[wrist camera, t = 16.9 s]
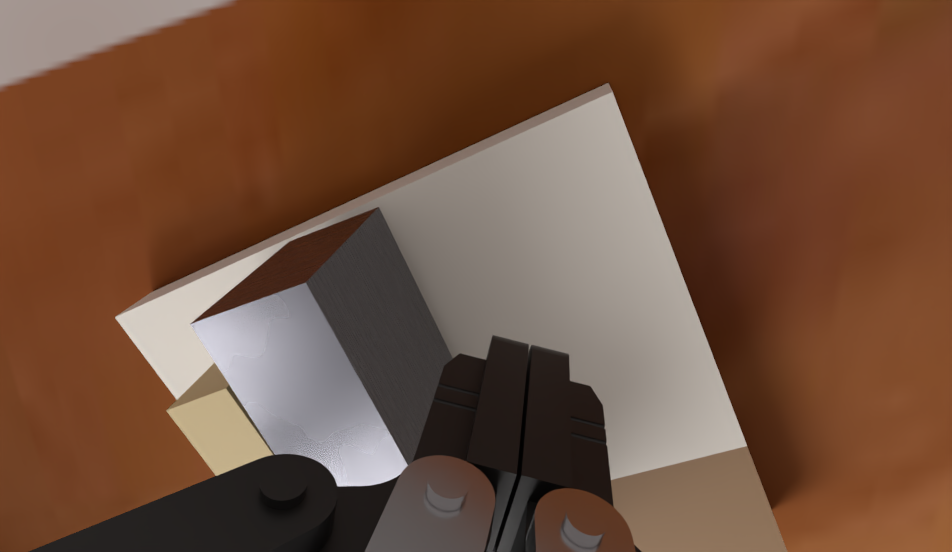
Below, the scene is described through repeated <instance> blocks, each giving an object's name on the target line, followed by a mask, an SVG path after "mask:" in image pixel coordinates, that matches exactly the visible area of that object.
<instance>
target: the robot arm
mask: <svg viewBox="0 0 952 552" xmlns="http://www.w3.org/2000/svg"><path fill="white" fill-rule="evenodd" d="M604 427H605V420H604V410H603V405H602V403H601V402H600V400H599V399H598V397H597V395H596V394H595V392H594V391H593V389H592V388H591V386H588V385H584V384H581V383H577V382H573V381H570V368H569V354H567V353H563V352H559V351H555V350H551V349H547V348H543V347H539V346H535V345H531V347H530V349H529V344H527V343H523V342H519V341H515V340H511V339H507V338H503V337H499V336H495V335H492V339H491V342H490V346H489V350H488V354H487V358H486V360H485V359H481V358H477V357H473V356H469V355H465V354H461V353H460V354H458V355H457V356H456V357H454V358H453V359H452V360H451V361H449V362H448V363H447V364H446V365H444V368H443V371H442V374H441V377H440V380H439V383H438V386H437V389H436V392H435V395H434V399H433V401H432V405H431V408H430V411H429V414H428V417H427V420H426V423H425V426H424V429H423V432H422V435H421V438H420V441H419V444H418V447H417V450H416V453H415V456H414V459H413V461H412V463H411V464H409V465H408V466H407V467H406V468H405V469H404V470H403V471H402V473H401V474H400V475H399V476H397V477H396V478H393V479H391V480H389V481H387V482H384V483H381V484H376V485H369V486H337V483H336V481H335V478H334V476H333V475H332V474H331V472H330V471H329V470H328V469H327V468H326V467H325V466H324V465H322V464H321V463H319V462H318V461H316V460H314V459H311V458H309V457H305V456H302V455H296V454H276V455H271V456H266V457H263V458H260V459H257V460H255V461H252V462H250V463H247V464H245V465H242V466H240V467H237V468H235V469H232V470H230V471H227V472H225V473H222V474H220V475H217V476H215V477H212V478H210V479H208V480H205V481H203V482H200V483H198V484H195V485H193V486H190V487H188V488H185V489H183V490H180V491H178V492H175V493H173V494H170V495H168V496H165V497H163V498H160V499H158V500H156V501H153V502H151V503H148V504H146V505H143V506H141V507H138V508H136V509H133V510H131V511H128V512H126V513H123V514H121V515H118V516H116V517H113V518H111V519H108V520H106V521H103V522H101V523H99V524H96V525H94V526H91V527H89V528H86V529H84V530H81V531H79V532H76V533H74V534H71V535H69V536H66V537H64V538H61V539H59V540H56V541H54V542H51V543H49V544H46V545H44V546H42V547H39V548H37V549H34V550H32V551H29V552H642V551H641V550H640V549H638V548H637V547H636V546H635V545H634V542H633V537H632V534H631V531H630V528H629V526H628V524H627V522H626V521H625V520H624V518H623V517H622V515H621V514H620V513H619V512H618V511H617V510H616V509H615V508H614V506H613V496H612V487H611V477H610V468H609V458H608V448H607V445H606V442H607V439H606V429H604Z"/></svg>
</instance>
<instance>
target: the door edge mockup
mask: <svg viewBox="0 0 952 552" xmlns="http://www.w3.org/2000/svg"><path fill="white" fill-rule="evenodd" d="M377 207H379V208H380V210H381V212H382V214H383V216H384V218H385V220H386V222H387V225H388V227H389V229H390V231H391V233H392V235H393V237H394V239H395V241H396V243H397V245H398V247H399V249H400V251H401V253H402V255H403V257H404V259H405V261H406V263H407V265H408V267H409V270H410V272H411V274H412V276H413V278H414V280H415V282H416V284H417V286H418V288H419V290H420V292H421V294H422V296H423V298H424V300H425V302H426V304H427V306H428V308H429V310H430V312H431V315H432V317H433V319H434V321H435V323H436V325H437V327H438V329H439V331H440V333H441V335H442V337H443V339H444V341H445V343H446V345H447V347H448V349H449V351H450V353H451V355H452V358H454V357H456V356H457V355H458V354H460V353H461V354H465V355H469V356H473V357H477V358H481V359H485V360H486V358H487V354H488V350H489V346H490V342H491V339H492V335H495V336H499V337H503V338H507V339H511V340H515V341H519V342H523V343H527V344H529V349H530V347H531V345H535V346H539V347H543V348H547V349H551V350H555V351H559V352H563V353H567V354H569V368H570V381H573V382H577V383H581V384H584V385H588V386H591V388H592V389H593V391H594V392H595V394H596V395H597V397H598V399H599V400H600V402H601V403H602V405H603V410H604V420H605V427H604V429H606V439H607V442H606V445H607V448H608V458H609V468H610V477H611V487H612V496H613V506H614V508H615V509H616V510H617V511H618V512H619V513H620V514H621V515H622V517H623V518H624V520H625V521H626V522H627V524H628V526H629V528H630V531H631V534H632V537H633V542H634V545H635V546H636V547H637V548H638V549H640V550H641V551H642V552H787V549H786V547H785V544H784V541H783V539H782V536H781V534H780V531H779V528H778V526H777V523H776V520H775V518H774V515H773V512H772V510H771V507H770V505H769V502H768V499H767V497H766V494H765V491H764V489H763V486H762V484H761V481H760V478H759V476H758V473H757V470H756V468H755V465H754V462H753V460H752V457H751V455H750V452H749V449H748V447H747V444H746V441H745V439H744V436H743V434H742V431H741V428H740V426H739V423H738V420H737V418H736V415H735V413H734V410H733V407H732V405H731V402H730V399H729V397H728V394H727V391H726V389H725V386H724V384H723V381H722V378H721V376H720V373H719V370H718V368H717V365H716V363H715V360H714V357H713V355H712V352H711V349H710V347H709V344H708V342H707V339H706V336H705V334H704V331H703V328H702V326H701V323H700V320H699V318H698V315H697V313H696V310H695V307H694V305H693V302H692V299H691V297H690V294H689V292H688V289H687V286H686V284H685V281H684V278H683V276H682V273H681V270H680V268H679V265H678V263H677V260H676V257H675V255H674V252H673V249H672V247H671V244H670V242H669V239H668V236H667V234H666V231H665V228H664V226H663V223H662V221H661V218H660V215H659V213H658V210H657V207H656V205H655V202H654V199H653V197H652V194H651V192H650V189H649V186H648V184H647V181H646V178H645V176H644V173H643V171H642V168H641V165H640V163H639V160H638V157H637V155H636V152H635V150H634V147H633V144H632V142H631V139H630V136H629V134H628V131H627V128H626V126H625V123H624V121H623V118H622V115H621V113H620V110H619V107H618V105H617V102H616V100H615V97H614V94H613V92H612V89H611V87H610V85H609V83H606V84H604V85H602V86H600V87H598V88H596V89H593V90H591V91H589V92H587V93H585V94H582V95H580V96H578V97H576V98H574V99H572V100H569V101H567V102H565V103H563V104H561V105H559V106H556V107H554V108H552V109H550V110H548V111H545V112H543V113H541V114H539V115H537V116H535V117H532V118H530V119H528V120H526V121H524V122H521V123H519V124H517V125H515V126H513V127H511V128H508V129H506V130H504V131H502V132H500V133H497V134H495V135H493V136H491V137H489V138H487V139H484V140H482V141H480V142H478V143H476V144H474V145H471V146H469V147H467V148H465V149H463V150H460V151H458V152H456V153H454V154H452V155H450V156H447V157H445V158H443V159H441V160H439V161H436V162H434V163H432V164H430V165H428V166H426V167H423V168H421V169H419V170H417V171H415V172H412V173H410V174H408V175H406V176H404V177H402V178H399V179H397V180H395V181H393V182H391V183H388V184H386V185H384V186H382V187H380V188H378V189H375V190H373V191H371V192H369V193H367V194H365V195H362V196H360V197H358V198H356V199H354V200H351V201H349V202H347V203H345V204H343V205H341V206H338V207H336V208H334V209H332V210H330V211H327V212H325V213H323V214H321V215H319V216H317V217H314V218H312V219H310V220H308V221H306V222H303V223H301V224H299V225H297V226H295V227H293V228H290V229H288V230H286V231H284V232H282V233H280V234H277V235H275V236H273V237H271V238H269V239H266V240H264V241H262V242H260V243H258V244H256V245H253V246H251V247H249V248H247V249H245V250H242V251H240V252H238V253H236V254H234V255H232V256H229V257H227V258H225V259H223V260H221V261H218V262H216V263H214V264H212V265H210V266H208V267H205V268H203V269H201V270H199V271H197V272H195V273H192V274H190V275H188V276H186V277H184V278H181V279H179V280H177V281H175V282H173V283H171V284H168V285H166V286H164V287H162V288H160V289H157V290H155V291H153V292H151V293H150V294H148V295H147V296H145V297H144V298H142V299H141V300H139V301H138V302H136V303H135V304H133V305H132V306H130V307H129V308H128V309H126V310H125V311H123V312H122V313H120V314H119V315H117V316H116V317H115V318H116V320H117V321H118V322H119V324H120V325H121V326H122V328H123V329H124V330H125V332H126V333H127V334H128V336H129V337H130V338H131V340H132V341H133V342H134V344H135V345H136V346H137V348H138V349H139V350H140V352H141V353H142V354H143V356H144V357H145V358H146V360H147V361H148V362H149V363H150V365H151V366H152V367H153V369H154V370H155V371H156V373H157V374H158V375H159V377H160V378H161V379H162V381H163V382H164V383H165V385H166V386H167V387H168V389H169V390H170V391H171V393H172V394H173V395H174V397H175V398H176V399H177V400H176V401H175V402H174V403H173V404H172V405H171V406H170V407H169V408H168V409H167V410H166V411H167V412H168V414H169V415H170V416H171V417H172V419H173V420H174V421H175V423H176V424H177V425H178V427H179V428H180V429H181V431H182V432H183V433H184V434H185V436H186V437H187V438H188V440H189V441H190V442H191V444H192V445H193V446H194V448H195V449H196V450H197V451H198V453H199V454H200V455H201V457H202V458H203V459H204V461H205V462H206V463H207V465H208V466H209V467H210V468H211V470H212V471H213V472H214V474H215V475H216V476H217V475H220V474H222V473H225V472H227V471H230V470H232V469H235V468H237V467H240V466H242V465H245V464H247V463H250V462H252V461H255V460H257V459H260V458H263V457H266V456H271V455H275V454H274V453H273V451H272V450H271V448H270V447H269V445H268V444H267V442H266V440H265V439H264V437H263V436H262V434H261V433H260V431H259V430H258V428H257V427H256V425H255V424H254V422H253V420H252V419H251V417H250V416H249V414H248V413H247V411H246V410H245V408H244V407H243V405H242V404H241V402H240V400H239V399H238V397H237V396H236V394H235V393H234V391H233V390H232V388H231V387H230V385H229V384H228V382H227V381H226V379H225V377H224V376H223V374H222V373H221V371H220V370H219V368H218V367H217V365H216V364H215V362H214V361H213V359H212V357H211V356H210V354H209V353H208V351H207V350H206V348H205V347H204V345H203V344H202V342H201V341H200V339H199V337H198V336H197V334H196V333H195V331H194V330H193V328H192V327H191V325H190V324H191V323H192V322H193V321H194V320H195V319H197V318H198V317H199V316H200V315H201V314H203V313H204V312H205V311H206V310H207V309H209V308H210V307H211V306H212V305H213V304H215V303H216V302H217V301H218V300H219V299H221V298H222V297H223V296H224V295H225V294H227V293H228V292H229V291H230V290H231V289H233V288H234V287H235V286H236V285H238V284H239V283H240V282H241V281H242V280H244V279H245V278H246V277H247V276H248V275H250V274H251V273H252V272H253V271H254V270H256V269H257V268H258V267H259V266H260V265H262V264H263V263H264V262H265V261H266V260H268V259H269V258H270V257H271V256H272V255H274V254H275V253H276V252H277V251H278V250H280V249H281V248H282V247H283V246H284V245H286V244H287V243H288V242H289V241H292V240H294V239H297V238H299V237H302V236H305V235H307V234H310V233H312V232H315V231H317V230H320V229H323V228H325V227H328V226H330V225H333V224H336V223H338V222H341V221H343V220H346V219H349V218H351V217H354V216H356V215H359V214H362V213H364V212H367V211H369V210H372V209H375V208H377Z"/></svg>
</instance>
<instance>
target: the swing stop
mask: <svg viewBox="0 0 952 552" xmlns="http://www.w3.org/2000/svg"><path fill="white" fill-rule="evenodd" d="M190 325H191V327H192V328H193V330H194V331H195V333H196V334H197V336H198V337H199V339H200V341H201V342H202V344H203V345H204V347H205V348H206V350H207V351H208V353H209V354H210V356H211V357H212V359H213V361H214V362H215V364H216V365H217V367H218V368H219V370H220V371H221V373H222V374H223V376H224V377H225V379H226V381H227V382H228V384H229V385H230V387H231V388H232V390H233V391H234V393H235V394H236V396H237V397H238V399H239V400H240V402H241V404H242V405H243V407H244V408H245V410H246V411H247V413H248V414H249V416H250V417H251V419H252V420H253V422H254V424H255V425H256V427H257V428H258V430H259V431H260V433H261V434H262V436H263V437H264V439H265V440H266V442H267V444H268V445H269V447H270V448H271V450H272V451H273V453H274V454H275V455H276V454H296V455H302V456H305V457H309V458H311V459H314V460H316V461H318V462H319V463H321V464H322V465H324V466H325V467H326V468H327V469H328V470H329V471H330V472H331V474H332V475H333V476H334V478H335V481H336V483H337V486H369V485H376V484H381V483H384V482H387V481H389V480H391V479H393V478H396V477H397V476H399V475H400V474H401V473H402V471H403V470H404V469H405V468H406V467H407V466H408V465H409V464H411V463H412V461H413V459H414V456H415V453H416V450H417V447H418V444H419V441H420V438H421V435H422V432H423V429H424V426H425V423H426V420H427V417H428V414H429V411H430V408H431V405H432V401H433V399H434V395H435V392H436V389H437V386H438V383H439V380H440V377H441V374H442V371H443V368H444V365H446V364H447V363H448V362H449V361H451V360H452V359H453V358H452V355H451V353H450V351H449V349H448V347H447V345H446V343H445V341H444V339H443V337H442V335H441V333H440V331H439V329H438V327H437V325H436V323H435V321H434V319H433V317H432V315H431V312H430V310H429V308H428V306H427V304H426V302H425V300H424V298H423V296H422V294H421V292H420V290H419V288H418V286H417V284H416V282H415V280H414V278H413V276H412V274H411V272H410V270H409V267H408V265H407V263H406V261H405V259H404V257H403V255H402V253H401V251H400V249H399V247H398V245H397V243H396V241H395V239H394V237H393V235H392V233H391V231H390V229H389V227H388V225H387V222H386V220H385V218H384V216H383V214H382V212H381V210H380V208H379V207H377V208H375V209H372V210H369V211H367V212H364V213H362V214H359V215H356V216H354V217H351V218H349V219H346V220H343V221H341V222H338V223H336V224H333V225H330V226H328V227H325V228H323V229H320V230H317V231H315V232H312V233H310V234H307V235H305V236H302V237H299V238H297V239H294V240H292V241H289V242H288V243H287V244H286V245H284V246H283V247H282V248H281V249H280V250H278V251H277V252H276V253H275V254H274V255H272V256H271V257H270V258H269V259H268V260H266V261H265V262H264V263H263V264H262V265H260V266H259V267H258V268H257V269H256V270H254V271H253V272H252V273H251V274H250V275H248V276H247V277H246V278H245V279H244V280H242V281H241V282H240V283H239V284H238V285H236V286H235V287H234V288H233V289H231V290H230V291H229V292H228V293H227V294H225V295H224V296H223V297H222V298H221V299H219V300H218V301H217V302H216V303H215V304H213V305H212V306H211V307H210V308H209V309H207V310H206V311H205V312H204V313H203V314H201V315H200V316H199V317H198V318H197V319H195V320H194V321H193V322H192V323H191V324H190Z"/></svg>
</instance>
